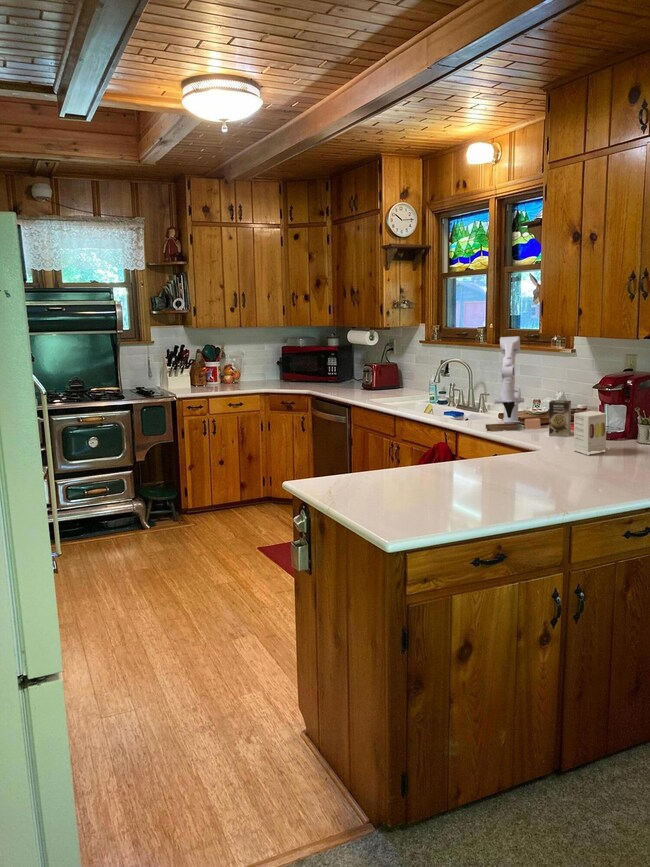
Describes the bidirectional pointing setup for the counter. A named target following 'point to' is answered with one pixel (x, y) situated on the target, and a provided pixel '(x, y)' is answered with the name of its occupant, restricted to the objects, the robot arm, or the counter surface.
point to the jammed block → (532, 423)
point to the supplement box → (590, 431)
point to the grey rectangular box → (559, 418)
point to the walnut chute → (504, 427)
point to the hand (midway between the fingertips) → (509, 417)
